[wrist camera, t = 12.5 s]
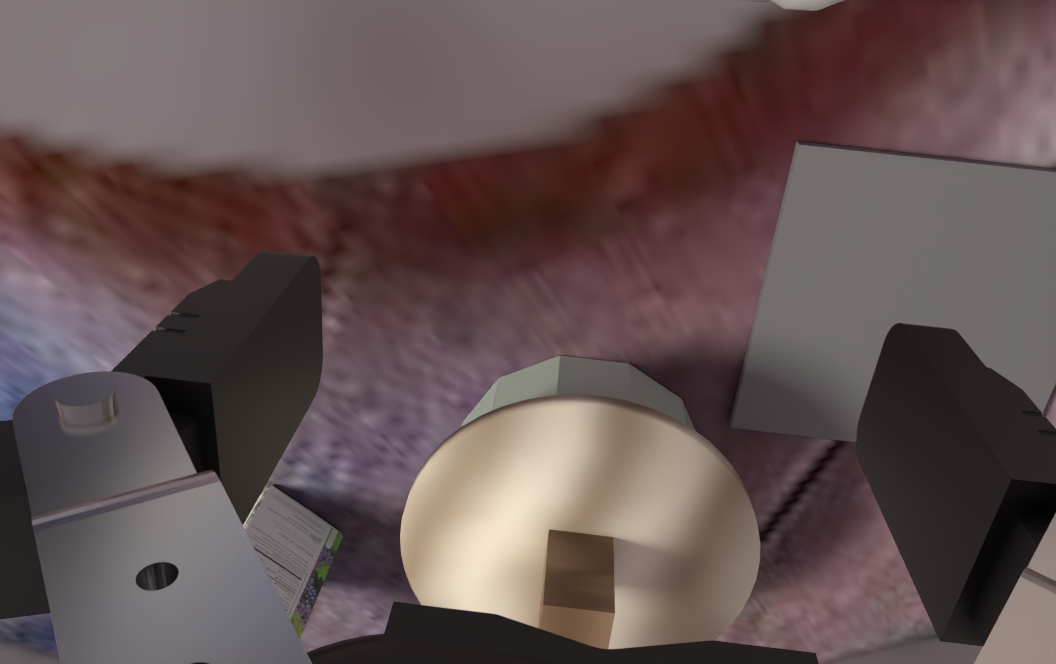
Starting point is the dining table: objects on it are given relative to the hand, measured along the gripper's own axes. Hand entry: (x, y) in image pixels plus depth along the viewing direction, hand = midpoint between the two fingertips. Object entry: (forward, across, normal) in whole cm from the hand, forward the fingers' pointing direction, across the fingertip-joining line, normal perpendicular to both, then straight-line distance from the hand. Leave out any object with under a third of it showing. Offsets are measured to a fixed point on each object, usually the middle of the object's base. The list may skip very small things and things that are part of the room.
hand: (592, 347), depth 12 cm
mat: (+30, -18, +12) cm, 37 cm away
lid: (+23, -2, +24) cm, 33 cm away
